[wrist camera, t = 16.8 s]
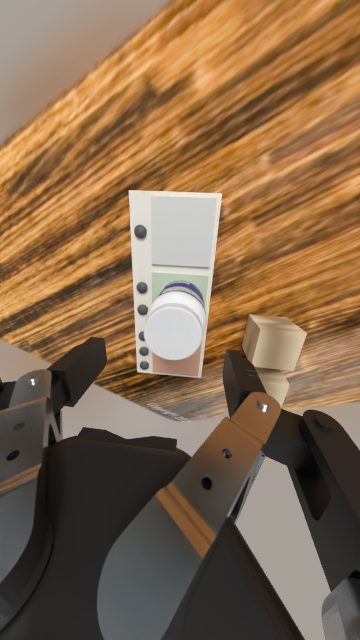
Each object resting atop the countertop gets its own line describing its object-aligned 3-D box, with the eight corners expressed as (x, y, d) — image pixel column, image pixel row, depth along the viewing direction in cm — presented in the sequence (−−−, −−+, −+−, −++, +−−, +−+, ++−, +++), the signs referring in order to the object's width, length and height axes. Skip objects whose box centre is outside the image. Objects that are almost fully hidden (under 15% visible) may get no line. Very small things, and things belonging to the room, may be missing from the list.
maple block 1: (286, 317, 25) (307, 333, 20) (276, 349, 26) (293, 370, 22) (248, 314, 25) (260, 329, 20) (241, 346, 27) (251, 366, 22)
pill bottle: (182, 329, 25) (175, 378, 16) (150, 302, 24) (122, 337, 15) (213, 300, 23) (224, 334, 14) (179, 269, 22) (167, 284, 13)
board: (220, 196, 20) (222, 192, 19) (200, 373, 29) (201, 379, 28) (131, 192, 21) (127, 189, 19) (139, 368, 30) (136, 373, 28)
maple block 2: (273, 361, 27) (289, 384, 23) (265, 387, 29) (278, 414, 24) (240, 357, 27) (248, 379, 23) (233, 383, 29) (240, 409, 25)
